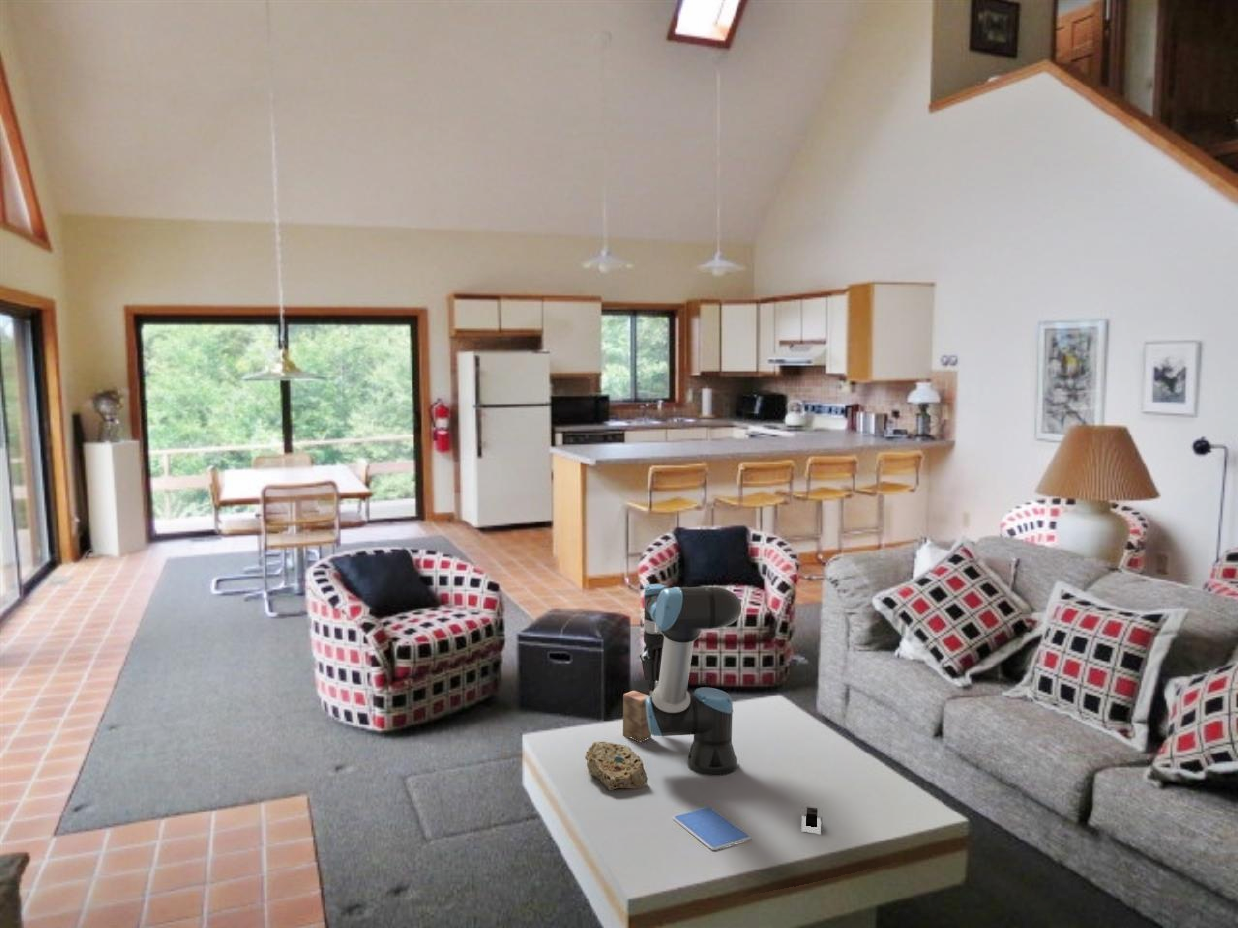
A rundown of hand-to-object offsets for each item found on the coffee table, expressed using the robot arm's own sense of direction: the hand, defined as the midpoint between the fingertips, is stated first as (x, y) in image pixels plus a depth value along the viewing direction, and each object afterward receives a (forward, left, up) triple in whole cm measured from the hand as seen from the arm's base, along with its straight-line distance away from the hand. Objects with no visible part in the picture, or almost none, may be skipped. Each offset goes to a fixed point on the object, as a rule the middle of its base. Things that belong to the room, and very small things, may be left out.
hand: (654, 699), depth 308 cm
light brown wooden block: (0, +8, -10) cm, 13 cm away
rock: (-15, +35, -11) cm, 40 cm away
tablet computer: (-54, +39, -11) cm, 68 cm away
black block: (-72, +19, -11) cm, 76 cm away
